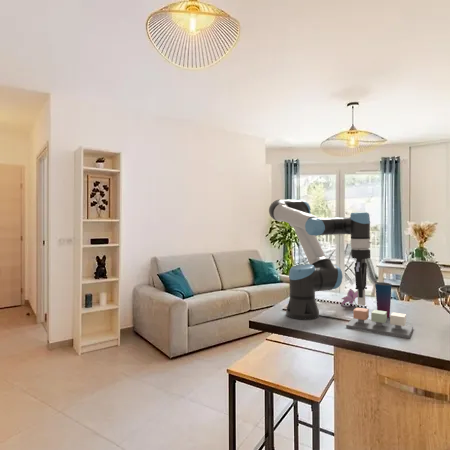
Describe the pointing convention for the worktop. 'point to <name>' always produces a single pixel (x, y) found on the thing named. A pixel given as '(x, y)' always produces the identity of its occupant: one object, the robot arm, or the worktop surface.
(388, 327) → the board
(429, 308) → the worktop surface
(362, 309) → the terracotta key
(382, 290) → the cup
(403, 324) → the cream key
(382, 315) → the sage key
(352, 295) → the lily
